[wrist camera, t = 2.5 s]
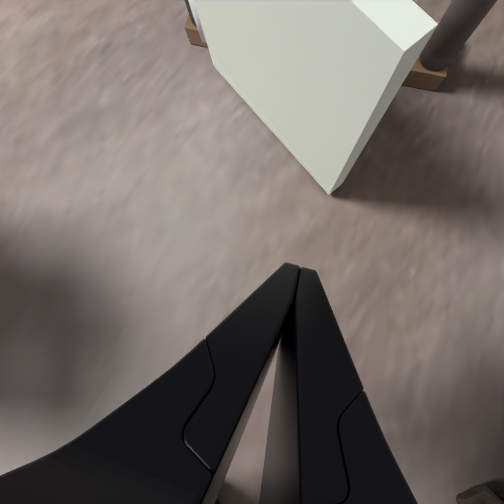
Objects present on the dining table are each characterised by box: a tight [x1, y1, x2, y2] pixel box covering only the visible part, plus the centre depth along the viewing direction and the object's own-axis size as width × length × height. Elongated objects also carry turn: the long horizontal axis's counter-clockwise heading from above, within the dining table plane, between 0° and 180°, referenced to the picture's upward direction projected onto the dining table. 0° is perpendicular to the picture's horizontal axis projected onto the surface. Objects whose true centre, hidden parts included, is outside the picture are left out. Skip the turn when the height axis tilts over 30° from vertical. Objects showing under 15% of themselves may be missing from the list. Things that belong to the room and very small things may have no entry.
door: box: [188, 0, 438, 194], centre depth 16 cm, size 2×15×13 cm, turn 39°
